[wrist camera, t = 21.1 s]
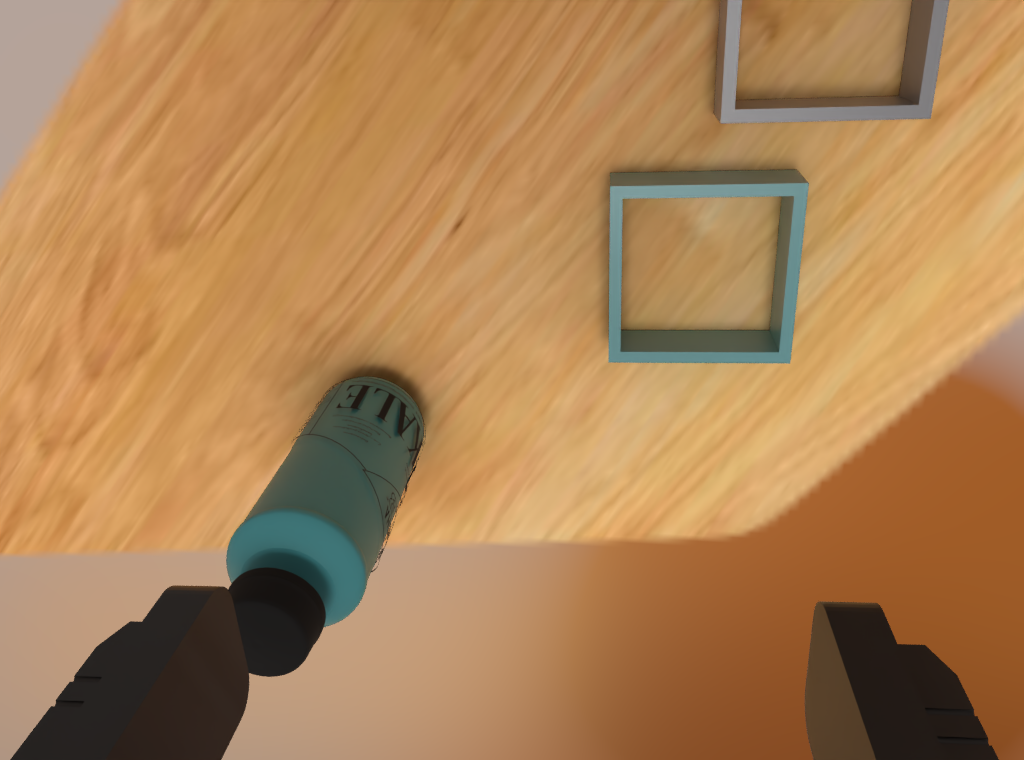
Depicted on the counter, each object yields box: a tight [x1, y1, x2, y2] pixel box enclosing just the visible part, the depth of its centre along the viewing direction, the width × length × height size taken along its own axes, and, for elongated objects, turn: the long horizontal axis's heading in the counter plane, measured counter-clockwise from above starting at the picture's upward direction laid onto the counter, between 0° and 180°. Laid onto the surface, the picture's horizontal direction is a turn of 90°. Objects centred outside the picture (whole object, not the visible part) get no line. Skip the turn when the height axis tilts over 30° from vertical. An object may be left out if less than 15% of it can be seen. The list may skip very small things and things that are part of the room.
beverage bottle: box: [226, 377, 426, 677], centre depth 43 cm, size 6×7×20 cm
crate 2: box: [714, 0, 949, 124], centre depth 39 cm, size 9×9×3 cm
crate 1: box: [609, 169, 809, 363], centre depth 45 cm, size 9×9×3 cm
